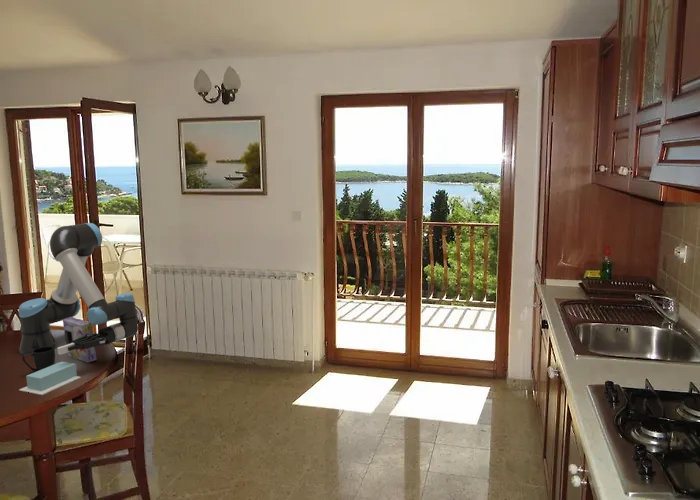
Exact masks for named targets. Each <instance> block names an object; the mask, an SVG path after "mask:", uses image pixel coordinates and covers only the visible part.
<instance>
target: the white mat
mask: <svg viewBox="0 0 700 500" xmlns="http://www.w3.org/2000/svg"><path fill="white" fill-rule="evenodd" d="M79 379H81V376H78V375H77V376H75V377H72V378H70V379H68V380H66V381H63V382H61V383H59V384H56V385H54V386H52V387H50V388H47V389H45V390H43V391H40V390H35V389H30V388H28V387H27V386H25V387H21V388H19V389H18V391H19V392H24V393H28V392H29V393H30V394H34V395H40V396H44V395H46V394H48V393H50V392H53V391H55V390H57V389H59V388H61V387H64V386H66V385H68V384H70V383H73V382H76V380H77V381H78V380H79Z"/></svg>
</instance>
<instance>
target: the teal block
mask: <svg viewBox="0 0 700 500" xmlns="http://www.w3.org/2000/svg"><path fill="white" fill-rule="evenodd" d="M75 376H78V373H77V364H76V363H72V362H68V361H67V362H66V361H60V362H59V361H58V362H57V363H54V365H52V366H49V367H47V368H44V369H42V370H39V371H37V372H34V371H33V372H32V373H30V374H27V375H26V385H27V386H26V387H28V388H30V389H35V390H40V391H43V390H45V389H47V388H50V387H52V386H54V385H56V384H59V383H61V382H63V381H66V380H68V379H70V378H72V377H75Z"/></svg>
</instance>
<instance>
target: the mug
mask: <svg viewBox="0 0 700 500" xmlns="http://www.w3.org/2000/svg"><path fill="white" fill-rule="evenodd" d="M26 356H32V361H33V364H34V367H35V368H34V367H32V366H30V364H29V363H28V362H27V361H26V359H25V357H26ZM21 359H22V361H23V363H24V364H25V365H26V366H27V367H28V368H29V369H30V370H31V371H32V372H33V373H34V372H37V371H39V370H42V369H44V368H47V367H49V366H52V365H54V364H56V363H55V361H56V352H55V349H54V347H51V346H47V347H40V348H37V349H34V350H33V351H32V354H25V355H24V354H22V356H21Z"/></svg>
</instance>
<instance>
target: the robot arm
mask: <svg viewBox="0 0 700 500" xmlns="http://www.w3.org/2000/svg"><path fill="white" fill-rule="evenodd" d="M102 243H103V236H102V232H101V230H100V228H99V227H98V226H97V225H96V224H95V223H92V222H83V223H79V224H72V225H63V226H59V227H58V228H57V229H55V230H54V231H53V233H52V234H51V236H50V240H49V247H50V248H49V249H50V252H51V254H52V257H53V258H54V260H55V261H56V262H59V263H60V264H61V267H62V270H61V273H60V276H59V277H60V278H59V280H58V284H57V287H56V289H55V290H53V291H52V292H51V294H50V298H48V299H46V298H43V297H40V298H33V299H30V300H27V301H24V302H22V303H21V304H20V305H19V306H18V316H19V322H20V329H21V341H20V345H19V348H18V349H19V353H20V355H25V354H32V351H33V350H34V349H37V348H40V347H47V346H51V347H54V350H55V349H56V348H57V354H58V355H60V356H61V355H63V354H68V352H70V351H73V350H78V349H80V350H83V349H87V348H91V347H95V348H96V347H98V346H103V345H105V346H106V345H110V344H113V343H115V342H118V343H119V341H120V340H125V339H127V338H130V337H134V336H137V335H136V332H137V324H138V317H139V316H138V315H137V309H136V301H135V297H134V294H133V293H130V292H128V293H121V294H117V295H116V296H115V301H111V302H107V301H106V298H105V297H104V295H103V293H102V292H101V290H100V288H98V286H97V284H96V282H95V281H94V280H93V279H94V278H92V276H91V274H90V272H88V270H87V268H86V262H87V260H88V257H91V256H92V255H93V253H94V249H95V248H98V247H101V245H102ZM77 292H78V294H79V295H80V297H81V299H82V301H83V302H84V304H85V305H86V307H87V308H88V310H87V312H86V316H87V322H90V323H91V325H93V326H94V325H95V326H97V325H101V324H105V323H107V322H110V321H113V320H116V319H119V322H117V323H114V324H111V325H108V326H104V327H101V328H100V329H99V330H98V332H97V333H93V334H92V335H90V336H89V334H86V335H85V336H83V337H80V338H78V339H75V340H73V341H71V344H68V345H67V344H65V345H61V346H59V347H57V341H56V339H55V338H54V336H53V334H52V331H51V324H55V323H58V322H61V321H62V322H63V319H67V318H70V317H74V318H75V317H76V316H77V315H78V313H79V312H80V309H81V304H80V303H81V302H80V298H79V297H78V295H77Z"/></svg>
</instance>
